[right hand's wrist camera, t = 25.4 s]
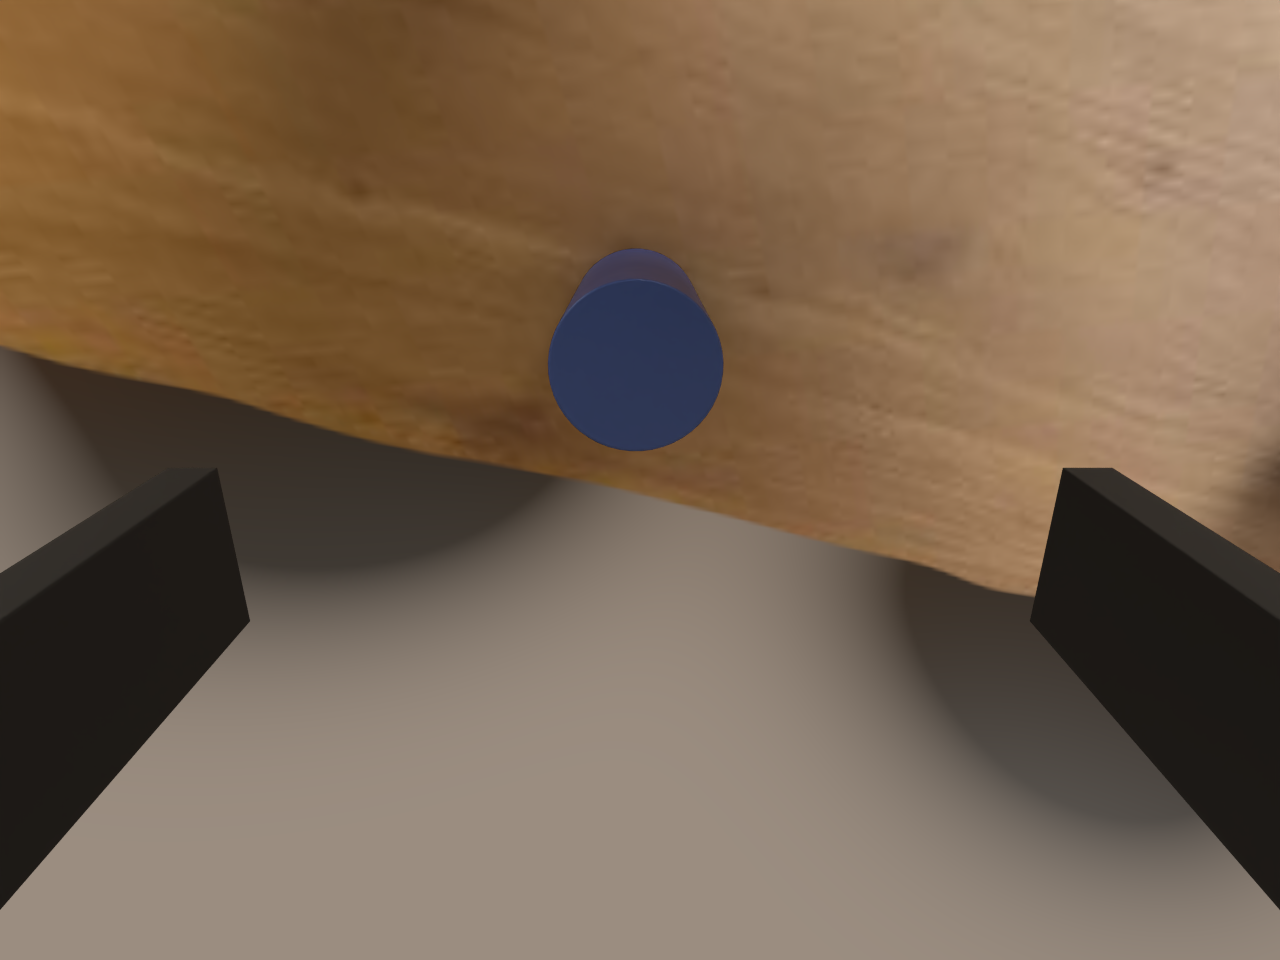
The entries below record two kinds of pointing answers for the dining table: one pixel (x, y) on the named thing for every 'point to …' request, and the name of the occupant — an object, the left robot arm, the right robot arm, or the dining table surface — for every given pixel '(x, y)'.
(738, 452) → the dining table surface
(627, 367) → the canister
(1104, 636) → the right robot arm
